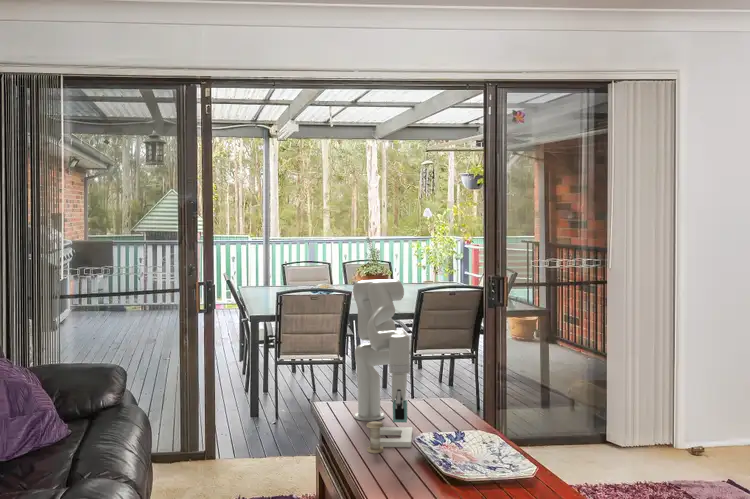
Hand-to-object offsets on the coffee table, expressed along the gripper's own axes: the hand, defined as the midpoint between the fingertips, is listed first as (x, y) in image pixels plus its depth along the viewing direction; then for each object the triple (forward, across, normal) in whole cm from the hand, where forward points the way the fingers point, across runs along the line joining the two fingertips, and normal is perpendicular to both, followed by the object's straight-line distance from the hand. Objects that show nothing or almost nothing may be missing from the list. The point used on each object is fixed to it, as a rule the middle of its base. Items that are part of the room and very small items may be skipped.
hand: (400, 416), depth 278 cm
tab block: (+1, 0, 0) cm, 1 cm away
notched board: (+13, -13, -4) cm, 19 cm away
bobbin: (+13, 0, -9) cm, 16 cm away
